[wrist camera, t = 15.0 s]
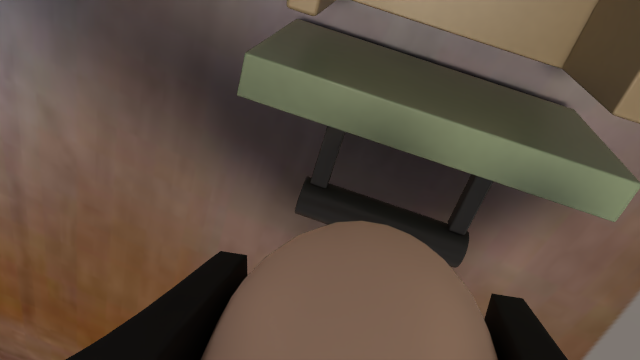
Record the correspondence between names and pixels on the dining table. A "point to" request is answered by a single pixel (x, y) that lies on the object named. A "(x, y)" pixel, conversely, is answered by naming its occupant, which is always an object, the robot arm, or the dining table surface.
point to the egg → (352, 302)
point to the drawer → (459, 106)
